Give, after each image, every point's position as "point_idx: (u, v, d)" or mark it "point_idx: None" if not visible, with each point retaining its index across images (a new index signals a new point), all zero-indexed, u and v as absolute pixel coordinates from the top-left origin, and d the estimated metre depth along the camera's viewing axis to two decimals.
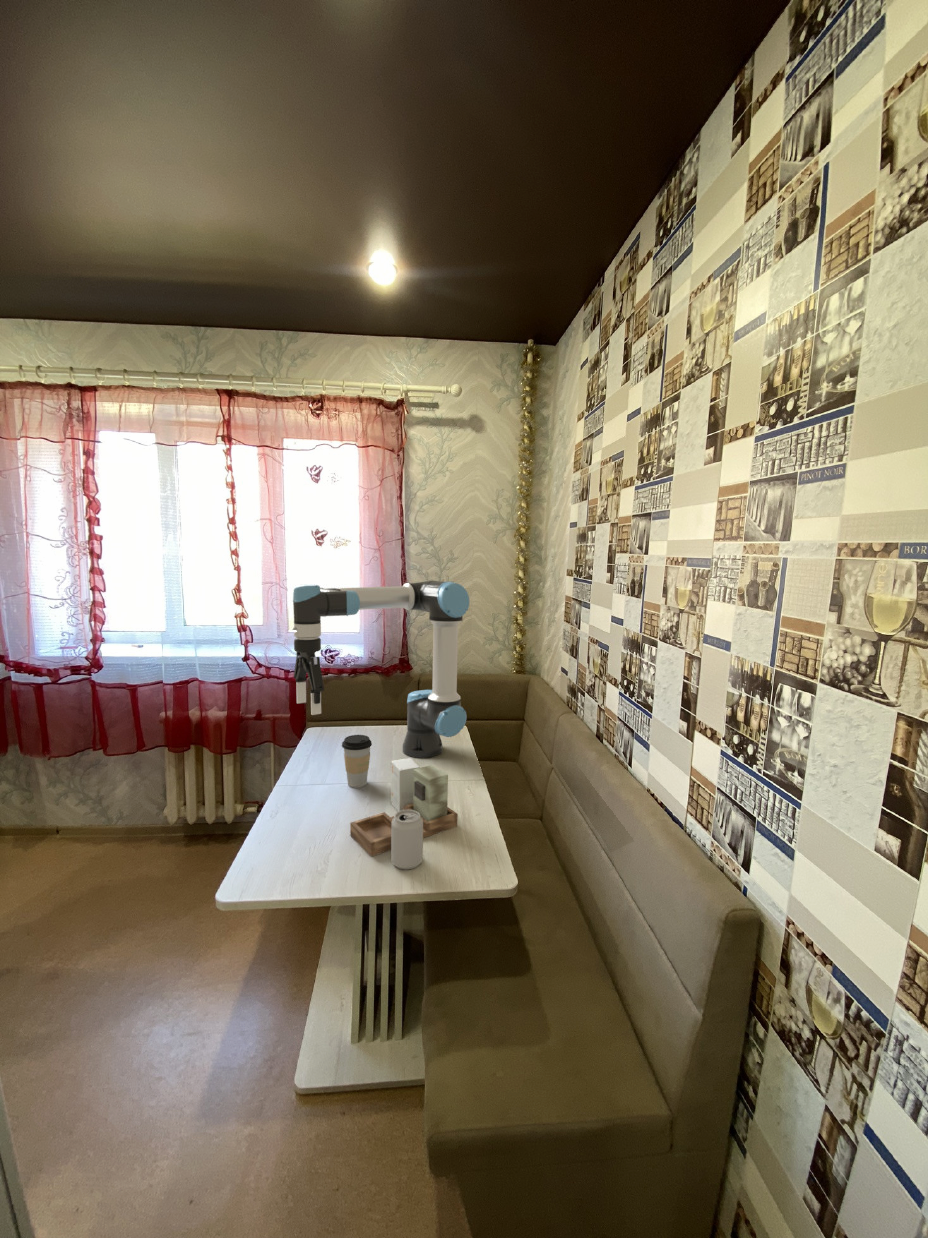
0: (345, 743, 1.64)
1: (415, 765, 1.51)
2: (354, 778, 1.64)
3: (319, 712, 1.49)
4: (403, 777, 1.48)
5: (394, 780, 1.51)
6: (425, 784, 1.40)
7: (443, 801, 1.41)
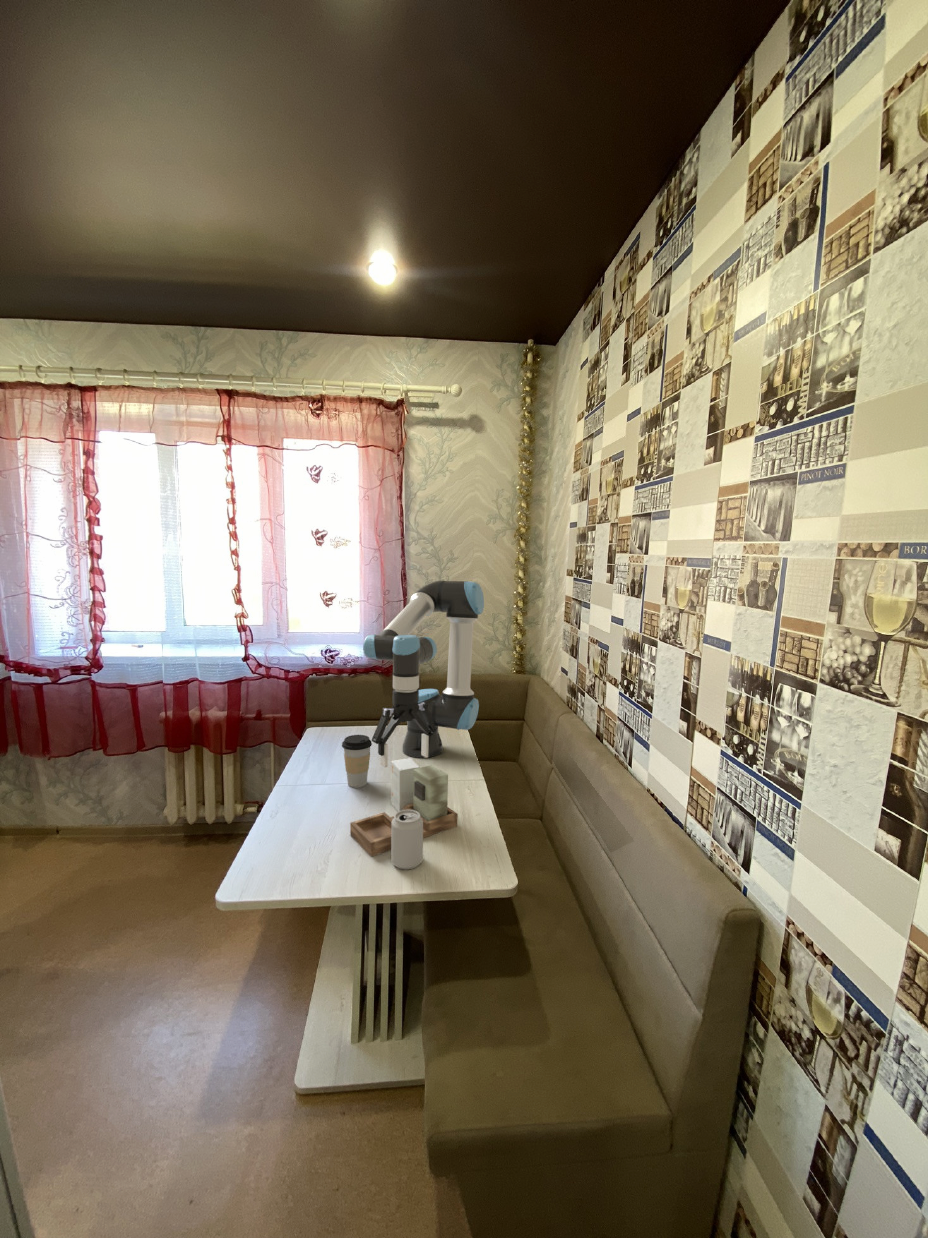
0: (345, 743, 1.64)
1: (415, 765, 1.51)
2: (354, 778, 1.64)
3: (384, 765, 1.47)
4: (403, 777, 1.48)
5: (394, 780, 1.51)
6: (425, 784, 1.40)
7: (443, 801, 1.41)
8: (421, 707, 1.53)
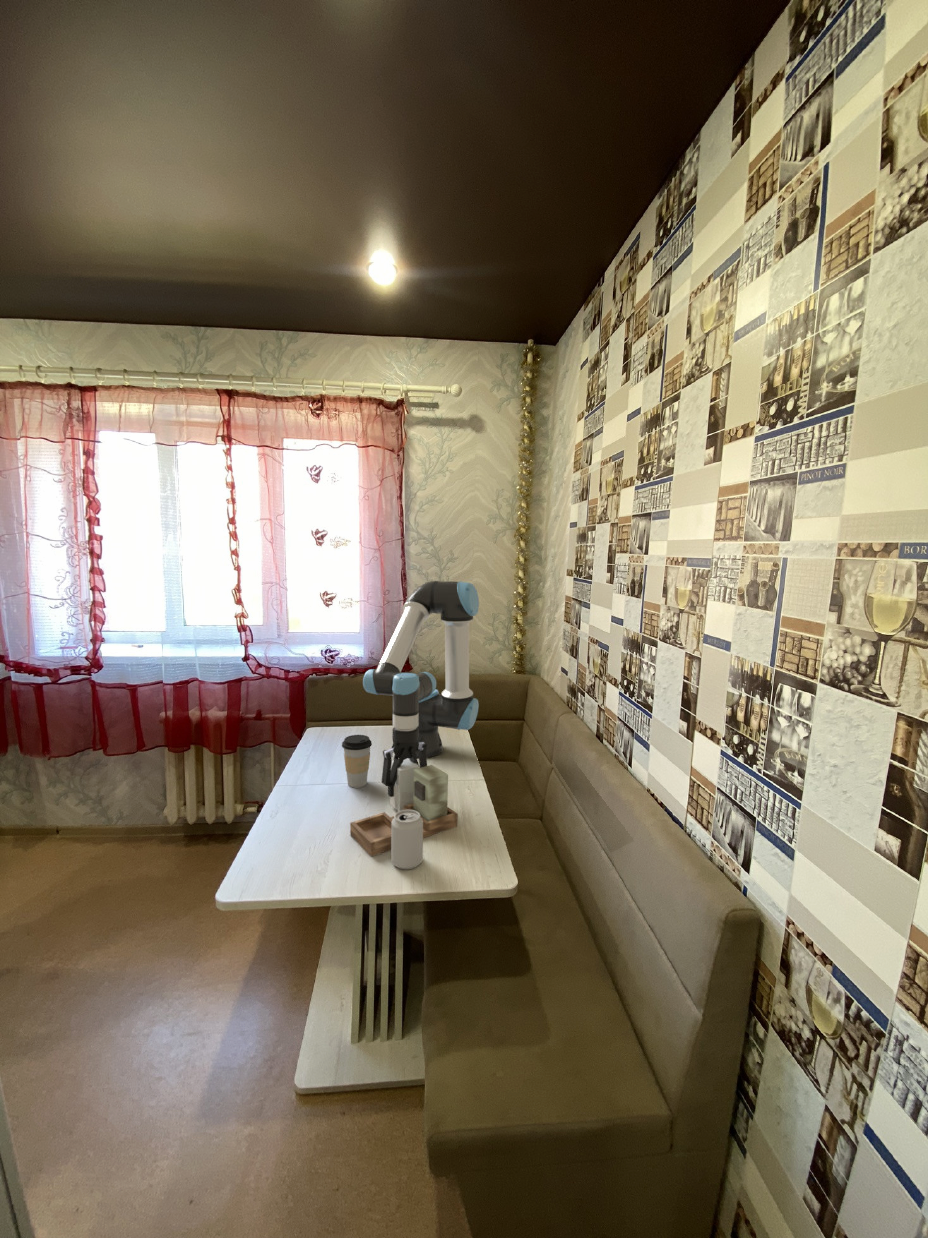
0: (345, 743, 1.64)
1: (415, 765, 1.51)
2: (354, 778, 1.64)
3: (393, 806, 1.50)
4: (403, 777, 1.48)
5: None
6: (425, 784, 1.40)
7: (443, 801, 1.41)
8: (420, 746, 1.54)
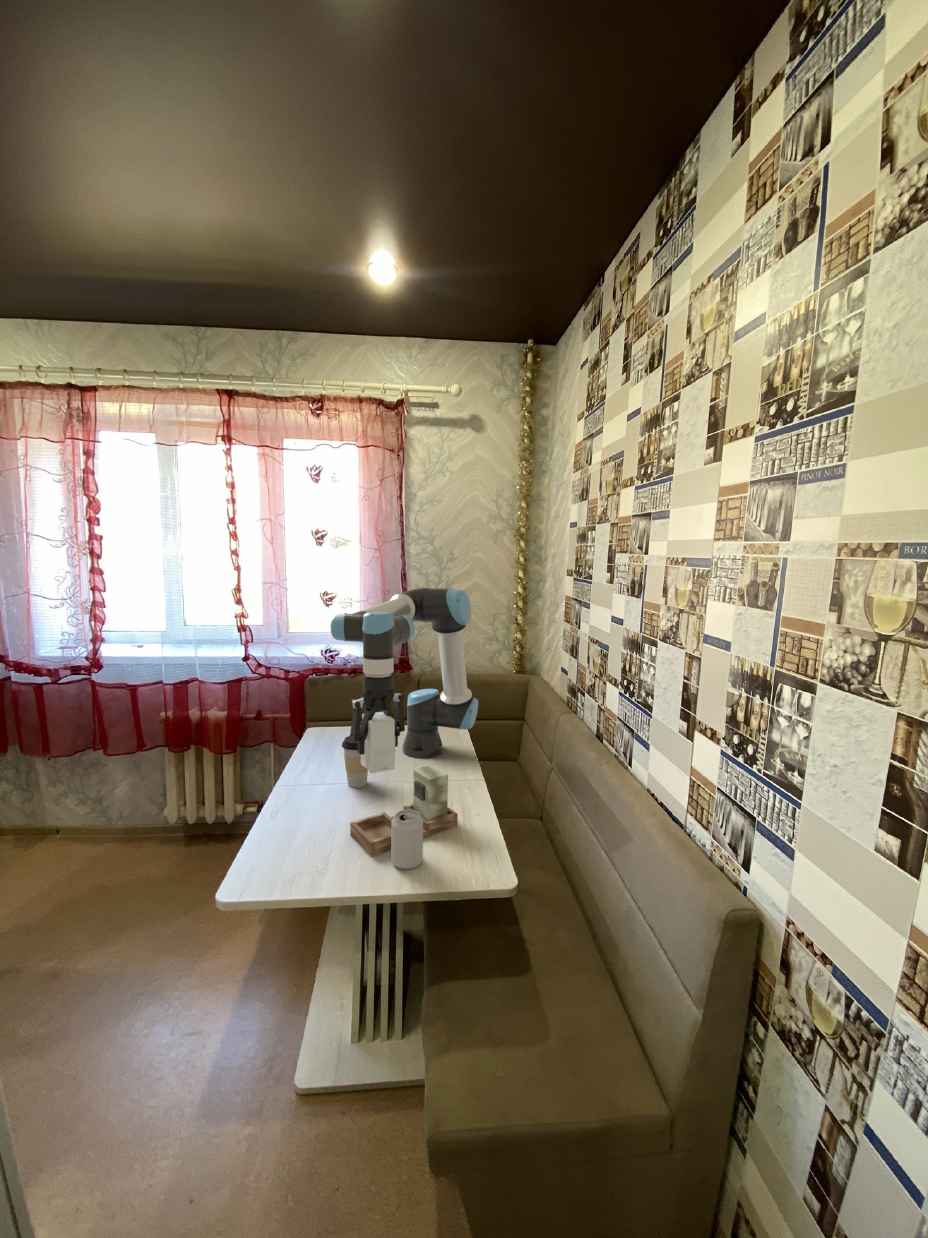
0: (345, 743, 1.64)
1: (390, 718, 1.30)
2: (354, 778, 1.64)
3: (364, 765, 1.29)
4: (375, 731, 1.27)
5: None
6: (425, 784, 1.40)
7: (443, 801, 1.41)
8: (396, 697, 1.33)
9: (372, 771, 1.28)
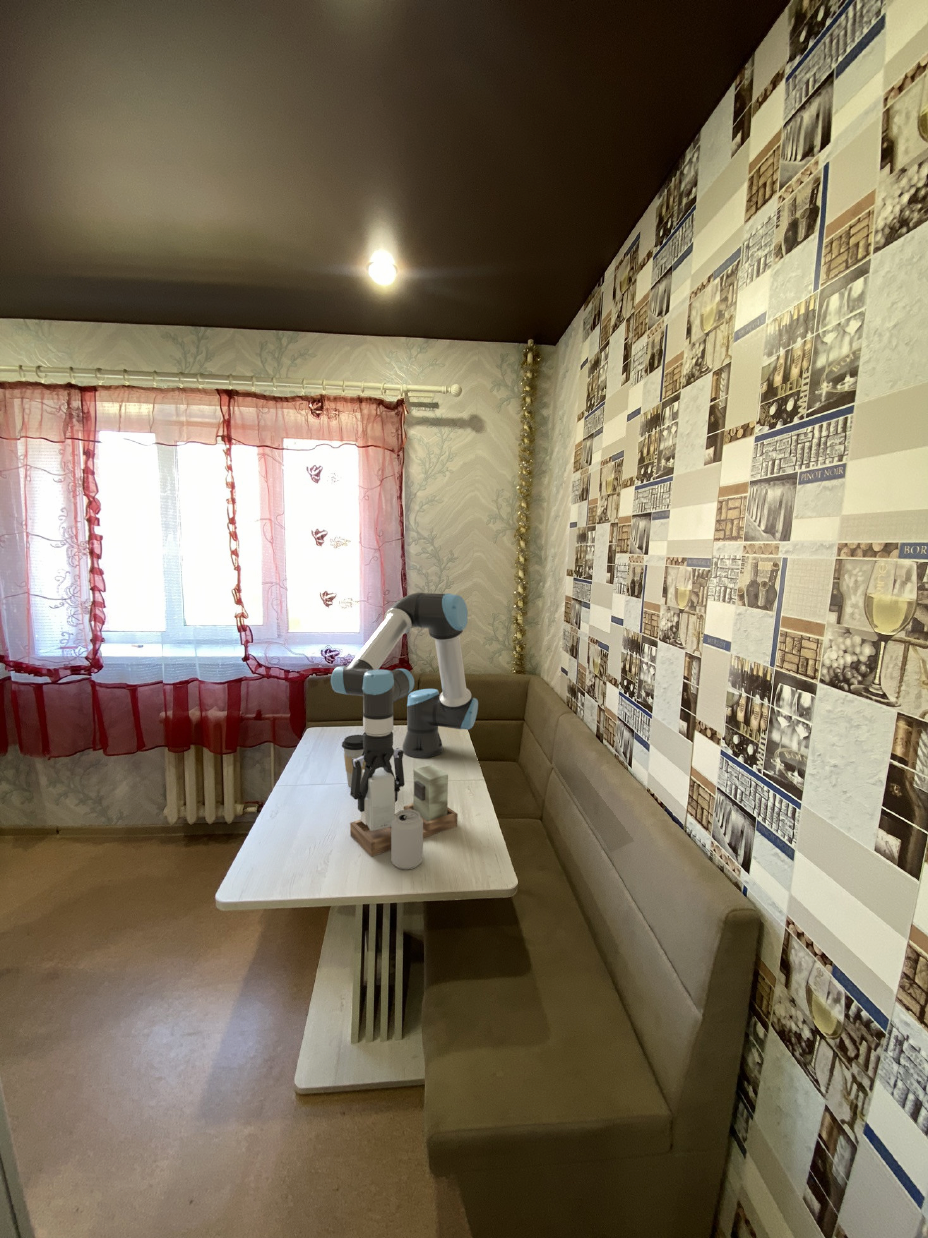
0: (345, 743, 1.64)
1: (390, 775, 1.32)
2: None
3: (364, 822, 1.31)
4: (375, 789, 1.29)
5: None
6: (425, 784, 1.40)
7: (443, 801, 1.41)
8: (396, 753, 1.35)
9: (372, 829, 1.29)
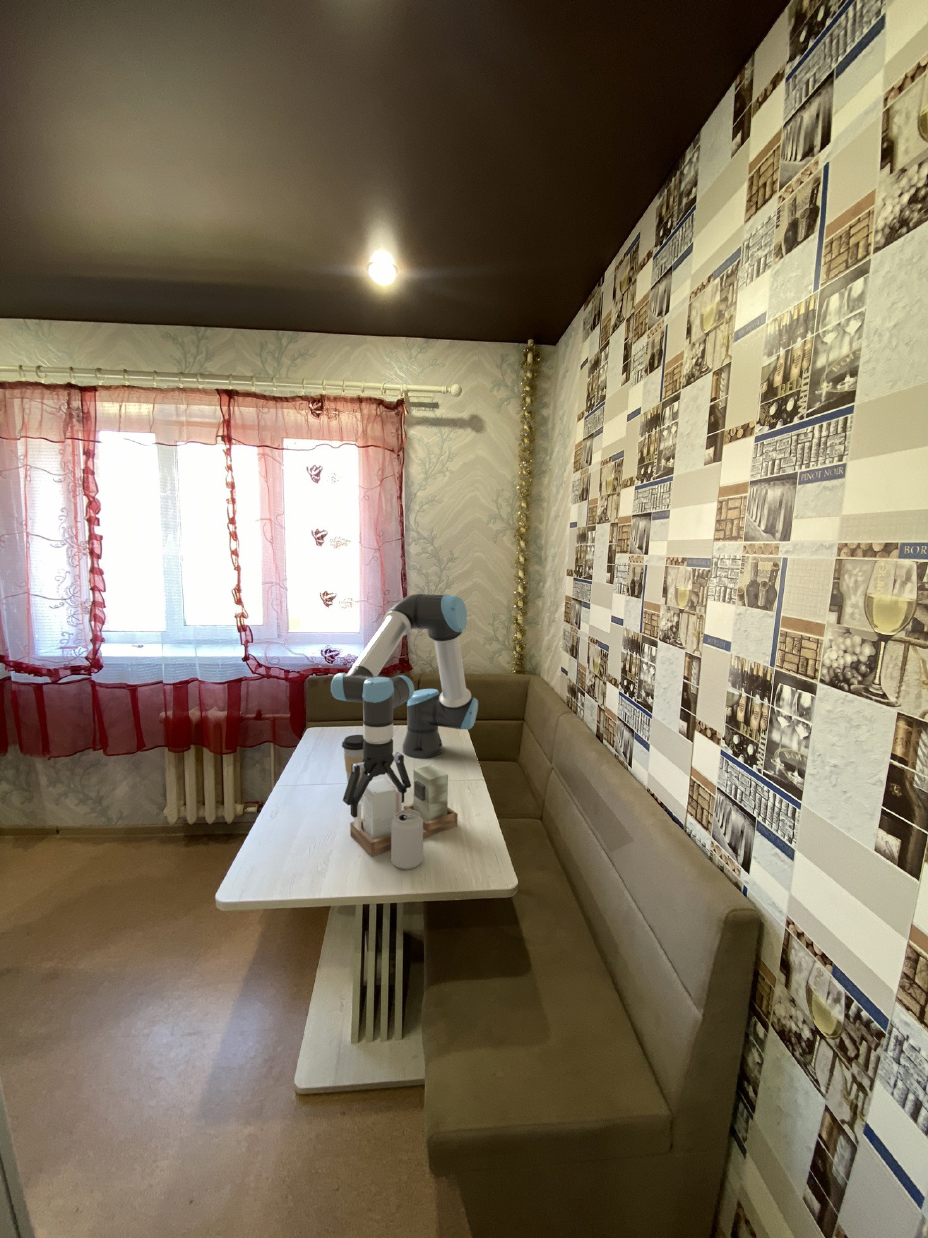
0: (345, 743, 1.64)
1: (391, 788, 1.32)
2: None
3: (357, 828, 1.30)
4: (377, 802, 1.29)
5: (367, 804, 1.33)
6: (425, 784, 1.40)
7: (443, 801, 1.41)
8: (396, 759, 1.35)
9: None
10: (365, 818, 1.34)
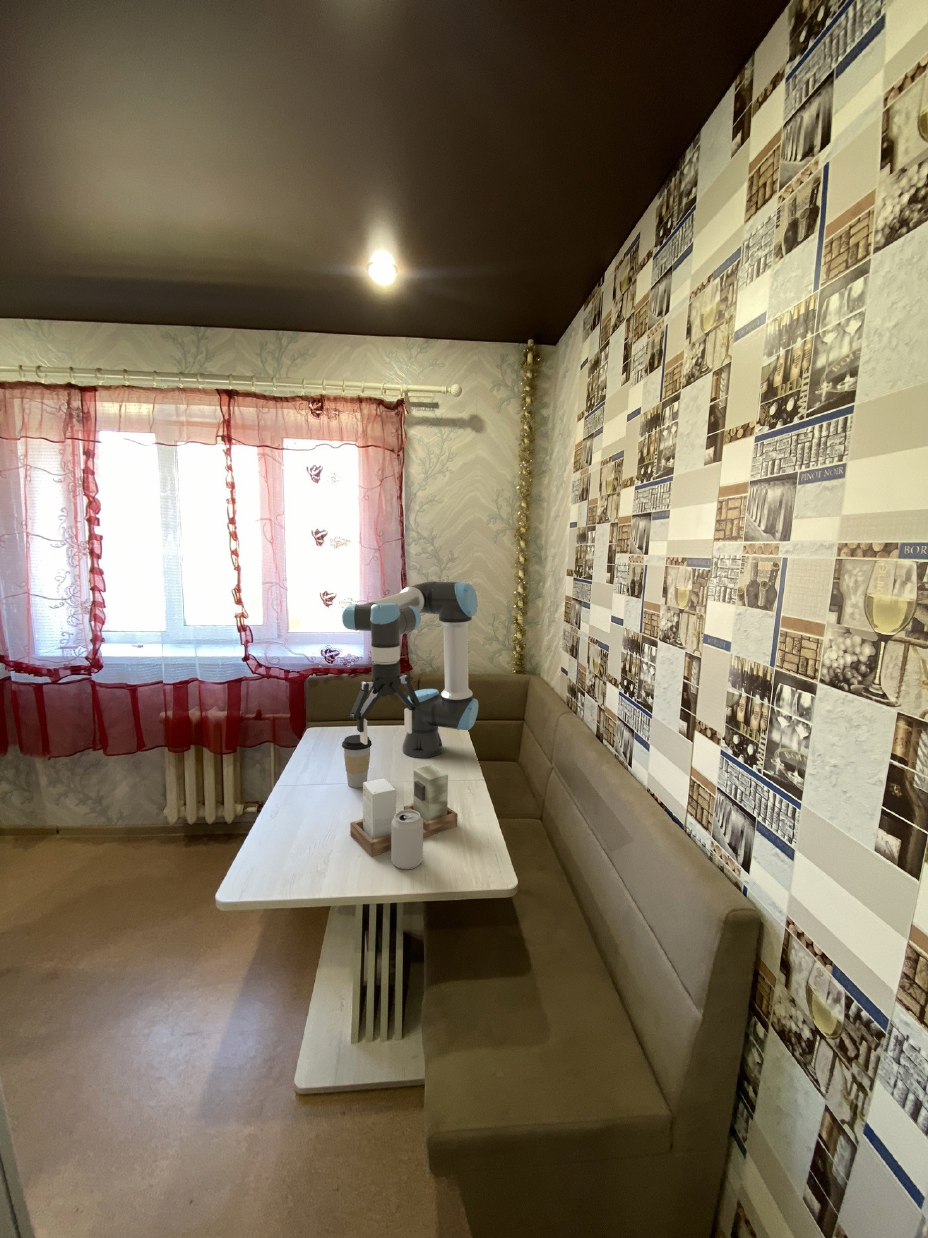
0: (345, 743, 1.64)
1: (391, 788, 1.32)
2: (354, 778, 1.64)
3: (364, 742, 1.37)
4: (377, 802, 1.29)
5: (367, 804, 1.33)
6: (425, 784, 1.40)
7: (443, 801, 1.41)
8: (403, 680, 1.42)
9: None
10: (365, 818, 1.34)
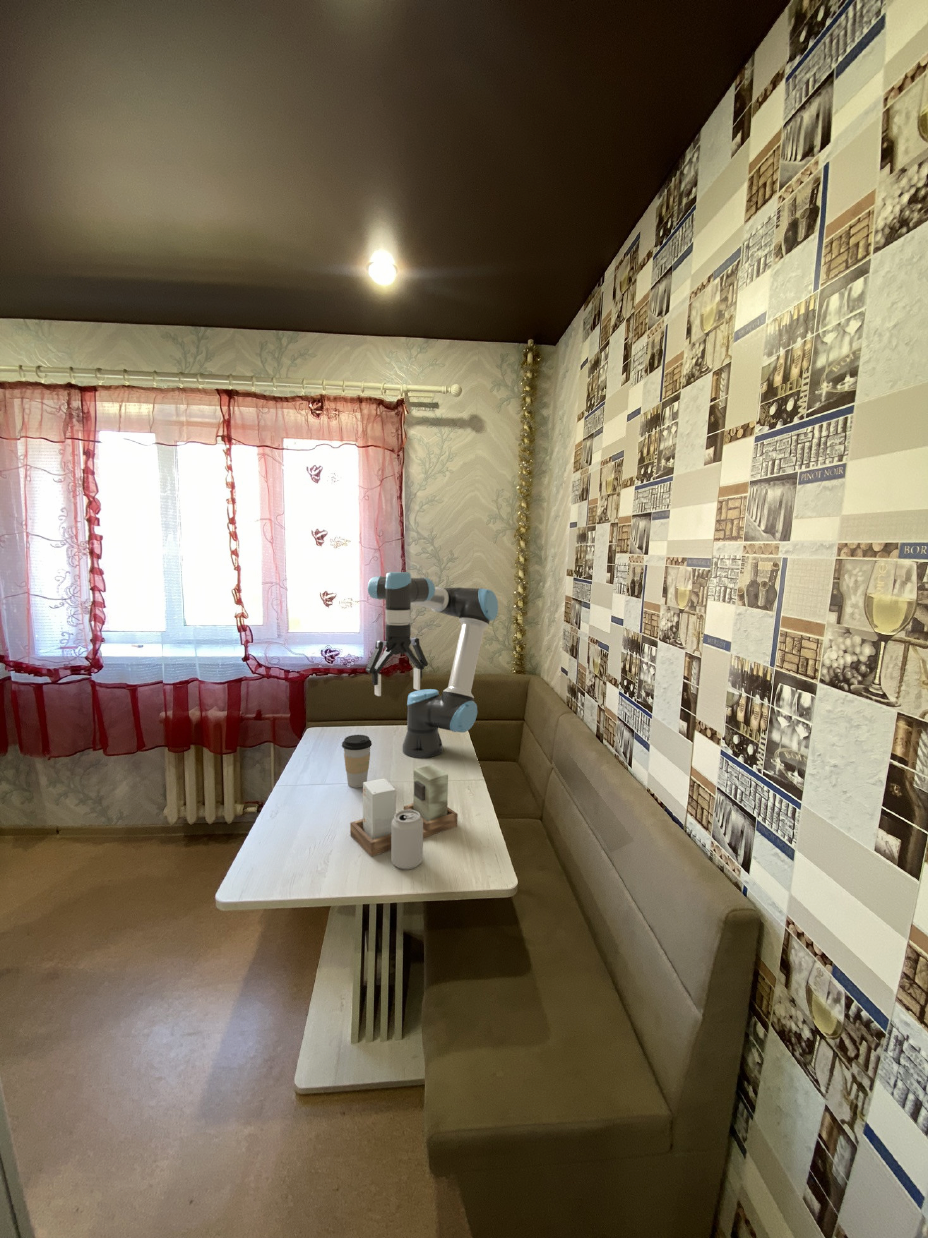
0: (345, 743, 1.64)
1: (391, 788, 1.32)
2: (354, 778, 1.64)
3: (377, 694, 1.54)
4: (377, 802, 1.29)
5: (367, 804, 1.33)
6: (425, 784, 1.40)
7: (443, 801, 1.41)
8: (413, 641, 1.60)
9: None
10: (365, 818, 1.34)
